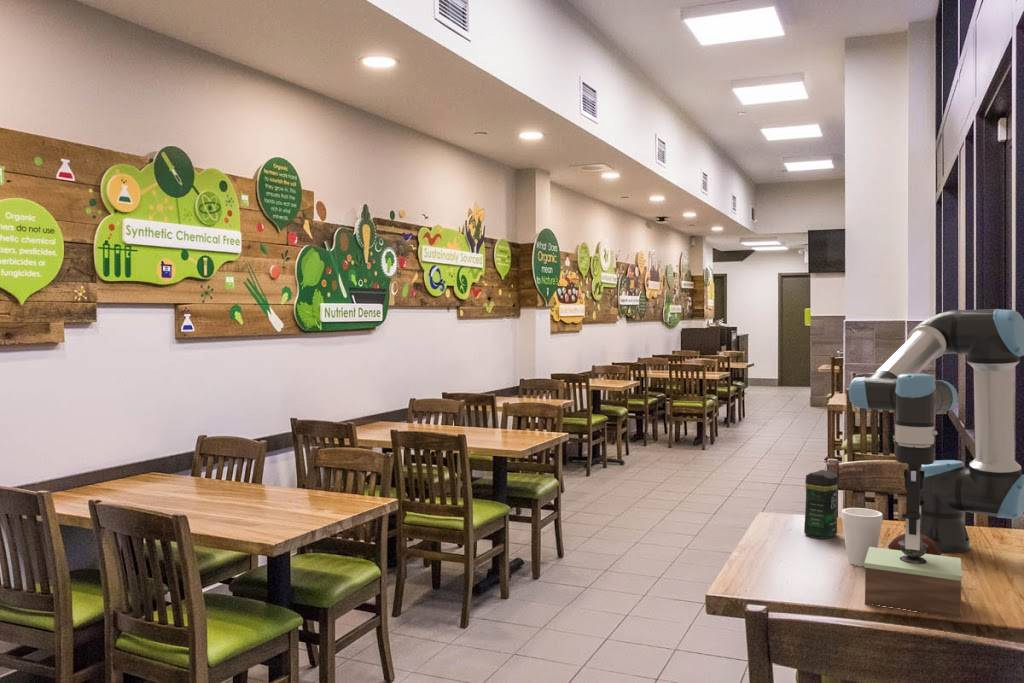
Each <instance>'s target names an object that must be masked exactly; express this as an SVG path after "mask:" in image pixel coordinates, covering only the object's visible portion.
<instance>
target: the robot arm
mask: <svg viewBox="0 0 1024 683" xmlns="http://www.w3.org/2000/svg"><path fill="white" fill-rule="evenodd" d="M906 339H907V340H906V342H904V343H903V344H901V346H900V347H899V348H898V349H897V350H896V351H895V352H894V353H893V354H892V355H891V356H889V357H888V359H887V360H886V361H885V362H884V363H883V364H882V365H881V366H880V367H879V368H878V369H877V370H876V371H875V372H873V374H871V375H870V376H869V377H868V376H859V377H854V378H853V379H852V380H851V381H850V384H849V387H848V398H849V401H850V403H851V405H852V406H853V407H856V408H859V409H866V410H878V411H879V410H881V411H891V412H892V411H893V412H895V424H894V425H895V427H894V428H895V429H894V430H895V431H894V434H895V435H894V436H895V437H894V438H895V439H894V441H895V442H896V445H895V448H894V450H895V451H894V452H895V454H894V455H895V456H894V458H895V461H896V462H898V463H900V464H906V465H907V466H908V468H907V469H904V471H903V480H904V490H905V491H906V498H905V499H906V500H905V501H906V503H905V504H906V506H905V513H902V514H901V516H902V519H905V521H904V522H905V525H904V526H905V527H904V528H905V530H904V531H905V533H904V534H905V549H912V550H920V514H921V527H923V529H921V535H925V536H927V537H929V538H930V539H932V540H933V541H934V542H935V544H936V545H937V546H938V547H939V549H940V551H941V552H942V553H963V552H968V551H970V549H971V540H970V537H969V534H968V531H967V528H966V525H965V522H964V512H967V513H972V514H978V515H983V516H990V517H995V518H998V519H1001V518H1002V519H1012V520H1016V519H1019V518H1020V517H1021V516H1022V515H1023V514H1024V474H1022V466H1021V465H1020V464H1019V463H1018V462H1017V461H1016V460H1015V439H1014V438H1015V437H1014V436H1015V434H1014V431H1015V429H1014V422H1015V421H1014V379H1013V378H1014V371H1013V370H1014V367H1016V366H1017V365H1018V364H1020V359H1021V358H1020V357H1024V318H1023V316H1022V315H1021V314H1020V312H1018V311H1016V310H1012V309H1000V308H994V309H993V308H991V309H990V308H989V309H986V308H985V309H952V310H946V311H943V312H940V313H937V314H934V315H933V316H930V317H928V318H926V319H925V320H923V321H922V322H920V323H919V324H917V325H916V326H915V327H914V328H912V330H910V331H909V333H908V335H907V338H906ZM948 354H951V355H952V354H953V355H954V354H958V355H966V363H967V364H968V365H969V366H971V368H972V369H973V390H974V391H973V395H974V397H973V400H974V402H973V403H974V435H975V436H974V438H975V442H974V443H975V446H974V447H975V448H974V449H975V458H974V459H973V460H971V461H969V464H968V467H965V466H966V465H965V463H964V461H962V460H958V459H957V460H955V459H943V460H940V459H939V460H938V459H937V460H935V448H934V447H933V446H932V445H933V444H934V443H935V436H937V435H938V431H937V430H934V429H935V416H936V415H942V414H945V413H948V412H949V411H951V410H952V409H954V408H955V406H956V404H957V403H958V399H959V398H958V397H959V395H958V392H957V390H956V388H955V386H954V385H953V384H952V383H950V382H949V381H946V380H941V379H935V376H933V374H928V373H921V372H922V371H923V370H924V369H925V367H926V366H928V364H930V363H931V361H933V360H936V359H939V358H940V357H941V356H943V355H948ZM919 512H920V514H919Z"/></svg>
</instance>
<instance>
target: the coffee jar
mask: <svg viewBox="0 0 1024 683" xmlns="http://www.w3.org/2000/svg"><path fill="white" fill-rule="evenodd" d="M838 478H839V476H838V474H837V473H835V471H832V470H827V469H826V470H825V469H820V470H818V471H813V472H810V473H807V474H806V475H805V482H804V483H805V484H804V485H805V510H804V530H803V531H804V534H805V535H807V536H809V537H811V536H813V537H812V538H814V537H817V538H816V539H819V538H820V539H823V538H824V539H830V538H832V537H834V536H836V535H837V533H838V515H837V514H838V512H837V511H838V510H837V508H838V501H837V500H838V487H839V479H838Z"/></svg>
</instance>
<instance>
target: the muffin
mask: <svg viewBox="0 0 1024 683" xmlns="http://www.w3.org/2000/svg"><path fill="white" fill-rule="evenodd" d="M904 539H905V533H902V534H901V535H900V534H899V535H898V536H896V537H895V538H893V539H892V541H890V543H889V544H888V545H887V547H888V549H892V550H900V551H901V549H900V545H899V544H898V542H899V541H903V540H904ZM921 539H922V542H923V543H925V544H927V545H928V548H927V551H926V553H925V554H932V555H939V556H941V554H942V553H943V552H941V551H940V549H939V547H938V546H937V545H936V544H935V542H934V541H933V540H932V539H930V538H929V537H927V536H925V535H921Z"/></svg>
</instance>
